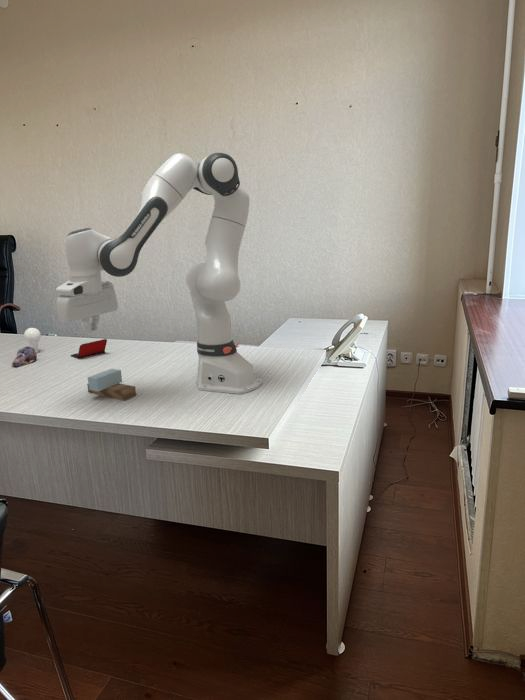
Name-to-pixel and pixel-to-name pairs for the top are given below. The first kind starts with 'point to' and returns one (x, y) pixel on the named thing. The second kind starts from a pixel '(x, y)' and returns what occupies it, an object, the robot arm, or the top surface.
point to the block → (104, 379)
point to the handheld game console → (91, 349)
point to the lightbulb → (32, 337)
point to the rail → (117, 391)
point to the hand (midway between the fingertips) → (92, 330)
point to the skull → (25, 356)
